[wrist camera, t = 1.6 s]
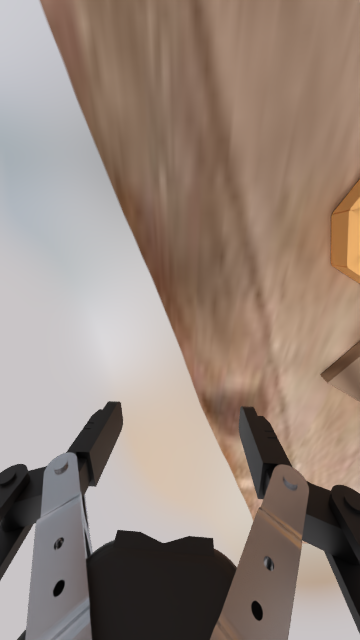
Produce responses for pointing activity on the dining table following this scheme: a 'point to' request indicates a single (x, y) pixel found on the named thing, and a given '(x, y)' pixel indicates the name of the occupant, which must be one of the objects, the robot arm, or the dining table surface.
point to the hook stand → (346, 373)
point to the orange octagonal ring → (347, 235)
